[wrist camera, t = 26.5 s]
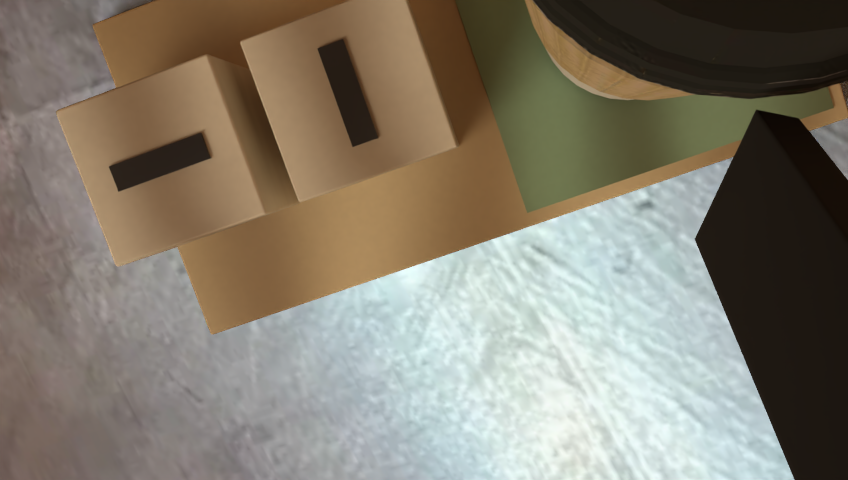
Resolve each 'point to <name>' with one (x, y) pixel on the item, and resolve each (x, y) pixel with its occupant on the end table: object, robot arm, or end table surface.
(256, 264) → the word board
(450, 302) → the end table surface
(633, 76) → the coffee cup
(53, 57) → the end table surface
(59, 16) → the end table surface
